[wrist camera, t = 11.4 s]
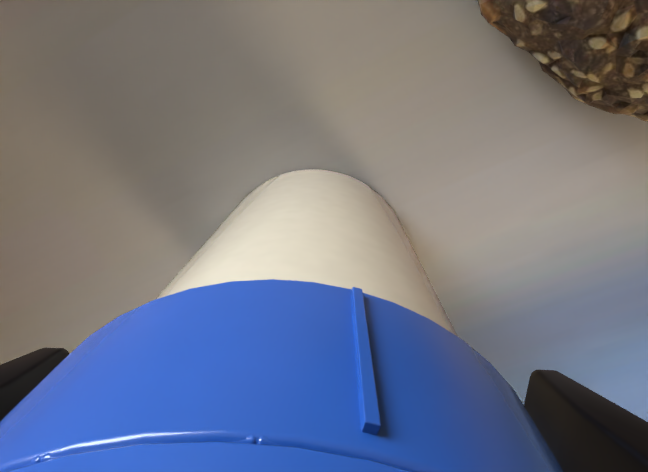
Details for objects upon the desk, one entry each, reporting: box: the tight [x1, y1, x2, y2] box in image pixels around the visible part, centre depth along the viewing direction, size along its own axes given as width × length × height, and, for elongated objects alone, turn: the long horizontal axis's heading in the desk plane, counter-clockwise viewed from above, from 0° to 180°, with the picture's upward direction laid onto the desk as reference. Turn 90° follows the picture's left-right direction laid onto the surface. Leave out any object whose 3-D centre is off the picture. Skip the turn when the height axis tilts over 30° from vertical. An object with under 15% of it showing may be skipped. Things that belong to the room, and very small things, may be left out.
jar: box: [155, 169, 458, 337], centre depth 9 cm, size 6×6×11 cm
